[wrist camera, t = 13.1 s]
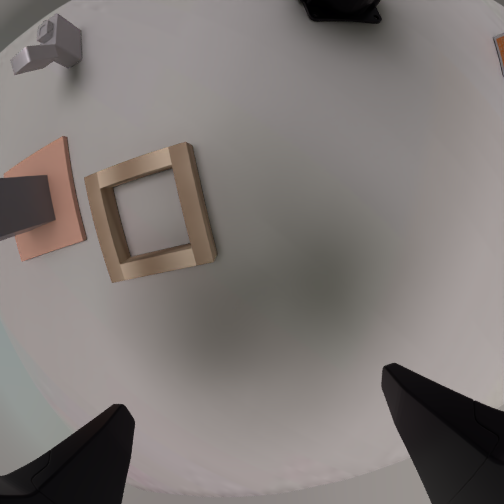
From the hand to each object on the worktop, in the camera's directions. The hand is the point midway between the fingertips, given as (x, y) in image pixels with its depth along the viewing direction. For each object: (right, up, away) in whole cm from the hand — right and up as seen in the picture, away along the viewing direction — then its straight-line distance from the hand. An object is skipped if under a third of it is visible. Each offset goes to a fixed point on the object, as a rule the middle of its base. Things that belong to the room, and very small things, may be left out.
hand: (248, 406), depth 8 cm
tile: (-19, +9, +11) cm, 24 cm away
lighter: (-16, +22, +8) cm, 28 cm away
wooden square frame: (-7, +8, +11) cm, 16 cm away
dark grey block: (-19, +9, +10) cm, 23 cm away
